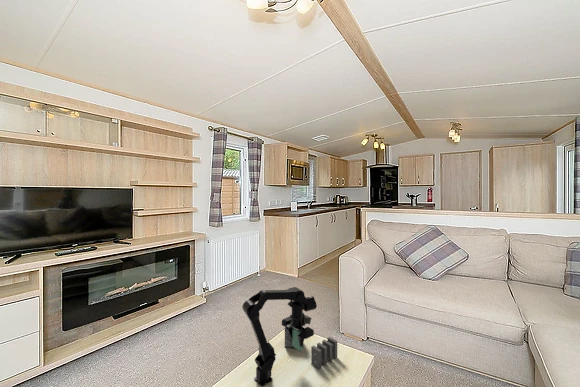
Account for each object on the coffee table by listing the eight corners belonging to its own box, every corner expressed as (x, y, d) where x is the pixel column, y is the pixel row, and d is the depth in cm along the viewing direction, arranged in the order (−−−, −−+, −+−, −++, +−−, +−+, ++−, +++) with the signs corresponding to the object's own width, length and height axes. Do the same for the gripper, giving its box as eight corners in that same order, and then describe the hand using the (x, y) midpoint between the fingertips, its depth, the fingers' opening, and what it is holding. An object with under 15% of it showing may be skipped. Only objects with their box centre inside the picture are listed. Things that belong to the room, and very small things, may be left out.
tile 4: (329, 362, 136) (329, 345, 136) (322, 357, 140) (322, 340, 140) (332, 361, 137) (332, 344, 137) (324, 356, 142) (324, 339, 142)
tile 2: (318, 369, 131) (318, 351, 131) (311, 364, 135) (311, 346, 135) (321, 367, 132) (321, 350, 132) (313, 362, 136) (313, 345, 136)
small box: (303, 342, 155) (303, 324, 155) (302, 348, 148) (302, 330, 148) (285, 341, 156) (285, 323, 156) (284, 347, 149) (284, 329, 149)
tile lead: (299, 350, 130) (299, 332, 130) (292, 345, 134) (292, 328, 134) (302, 349, 131) (302, 331, 131) (294, 344, 135) (294, 327, 135)
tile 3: (324, 366, 133) (324, 348, 133) (316, 360, 138) (316, 343, 138) (327, 364, 135) (327, 347, 135) (319, 359, 139) (319, 342, 139)
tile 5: (334, 359, 139) (334, 342, 139) (327, 354, 143) (327, 338, 143) (337, 357, 140) (337, 341, 140) (329, 352, 144) (329, 336, 144)
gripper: (321, 314, 131) (321, 345, 131) (296, 303, 145) (296, 330, 145) (305, 322, 123) (305, 354, 123) (280, 308, 137) (281, 338, 137)
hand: (297, 343), depth 132 cm, fingers closed on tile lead, 5 cm apart
